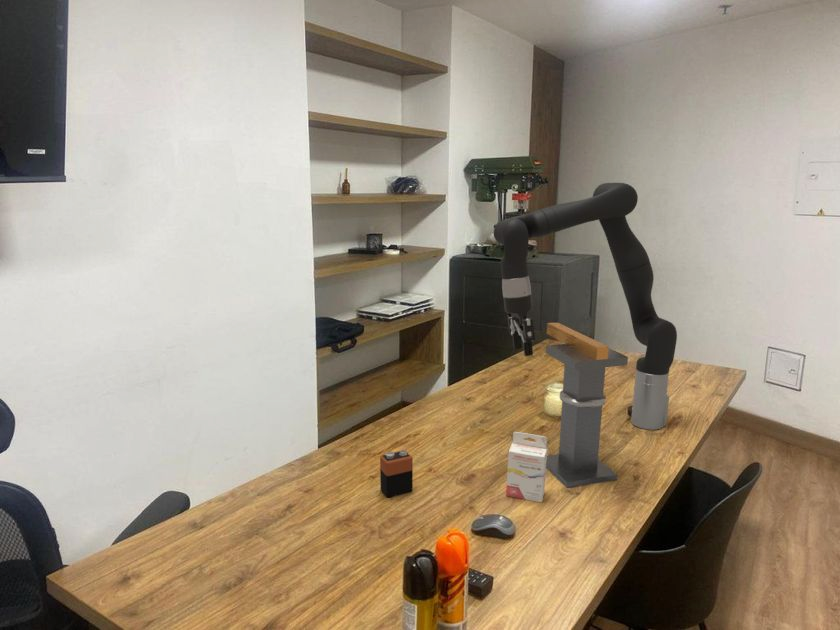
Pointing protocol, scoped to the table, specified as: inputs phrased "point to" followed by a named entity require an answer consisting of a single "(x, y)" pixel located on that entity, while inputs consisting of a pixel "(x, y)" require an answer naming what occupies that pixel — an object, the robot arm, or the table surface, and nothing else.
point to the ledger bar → (578, 341)
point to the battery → (396, 473)
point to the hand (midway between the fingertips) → (523, 351)
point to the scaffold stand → (581, 417)
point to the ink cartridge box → (527, 467)
